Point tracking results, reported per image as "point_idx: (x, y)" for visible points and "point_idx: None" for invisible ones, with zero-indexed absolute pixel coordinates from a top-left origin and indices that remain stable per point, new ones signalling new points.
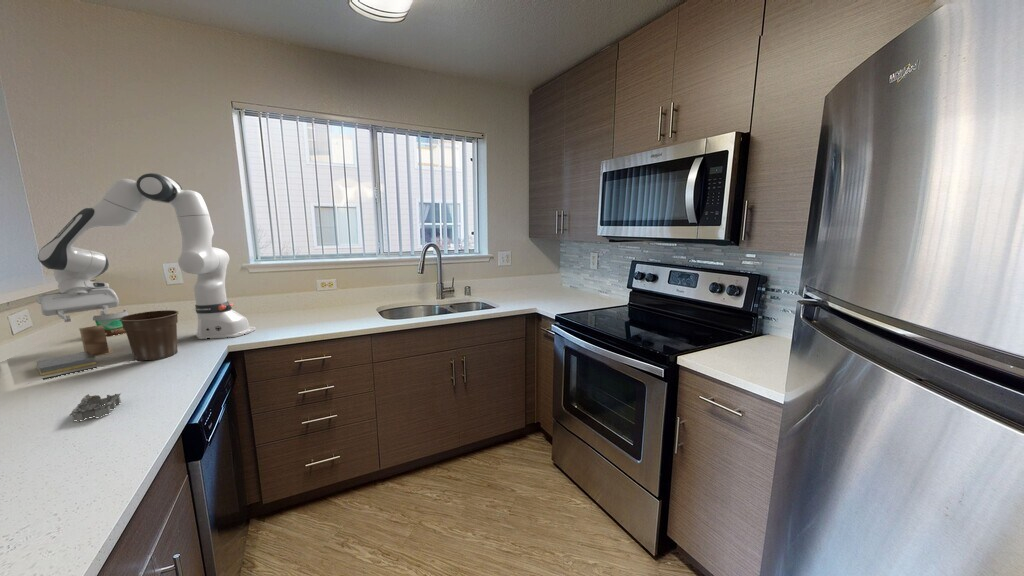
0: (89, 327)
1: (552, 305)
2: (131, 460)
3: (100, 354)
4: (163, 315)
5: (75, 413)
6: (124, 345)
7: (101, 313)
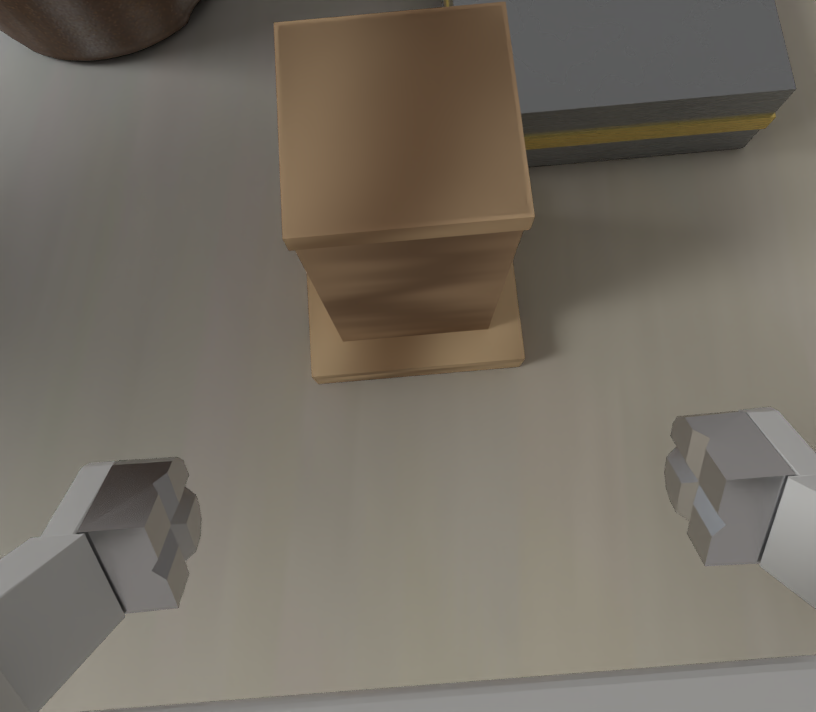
0: (420, 168)
1: None
2: None
3: None
4: None
5: None
6: (189, 595)
7: (157, 479)
